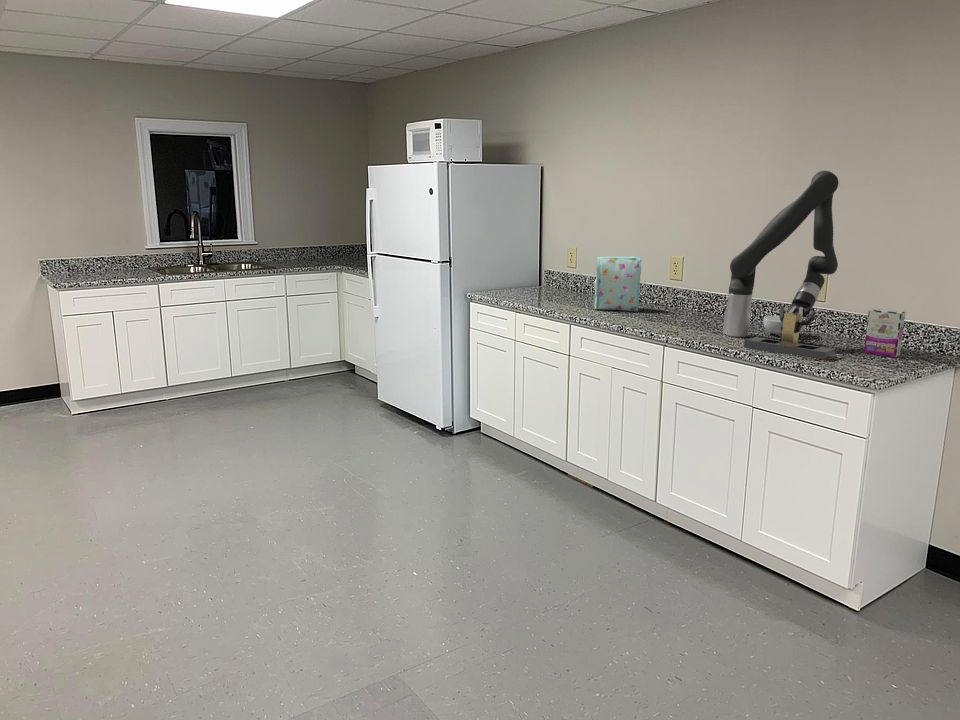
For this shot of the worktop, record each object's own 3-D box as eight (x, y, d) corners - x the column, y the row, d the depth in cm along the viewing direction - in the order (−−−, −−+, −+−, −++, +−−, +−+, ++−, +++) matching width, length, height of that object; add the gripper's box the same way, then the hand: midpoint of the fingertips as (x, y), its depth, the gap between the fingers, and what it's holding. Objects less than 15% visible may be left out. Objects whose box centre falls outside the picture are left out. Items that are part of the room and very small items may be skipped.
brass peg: (780, 344, 281) (784, 313, 278) (786, 343, 284) (789, 312, 281) (792, 346, 278) (796, 315, 275) (797, 345, 281) (801, 313, 278)
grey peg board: (743, 347, 279) (744, 339, 278) (755, 344, 285) (755, 337, 284) (824, 360, 258) (825, 352, 257) (834, 357, 264) (835, 349, 263)
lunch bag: (637, 307, 380) (641, 255, 374) (640, 312, 364) (643, 257, 358) (593, 306, 383) (595, 253, 377) (593, 310, 367) (595, 256, 362)
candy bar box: (900, 356, 268) (906, 311, 265) (895, 358, 265) (902, 312, 261) (867, 351, 276) (873, 308, 273) (862, 353, 273) (868, 309, 269)
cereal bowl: (770, 330, 319) (771, 314, 318) (810, 335, 309) (812, 318, 307) (756, 335, 306) (758, 318, 305) (797, 340, 296) (799, 323, 295)
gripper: (785, 288, 287) (768, 322, 281) (823, 292, 276) (805, 327, 271) (790, 300, 291) (772, 334, 286) (827, 305, 281) (809, 340, 276)
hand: (788, 330), depth 278 cm, fingers closed on brass peg, 4 cm apart
